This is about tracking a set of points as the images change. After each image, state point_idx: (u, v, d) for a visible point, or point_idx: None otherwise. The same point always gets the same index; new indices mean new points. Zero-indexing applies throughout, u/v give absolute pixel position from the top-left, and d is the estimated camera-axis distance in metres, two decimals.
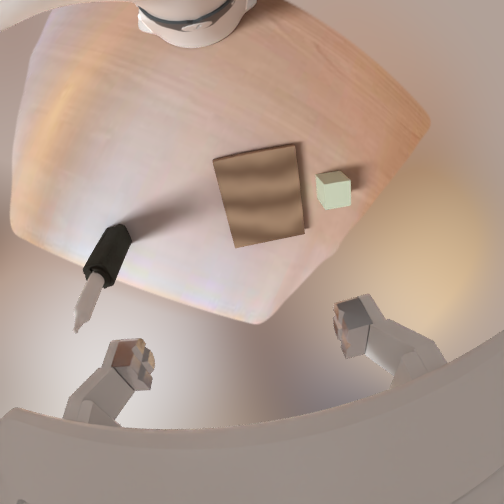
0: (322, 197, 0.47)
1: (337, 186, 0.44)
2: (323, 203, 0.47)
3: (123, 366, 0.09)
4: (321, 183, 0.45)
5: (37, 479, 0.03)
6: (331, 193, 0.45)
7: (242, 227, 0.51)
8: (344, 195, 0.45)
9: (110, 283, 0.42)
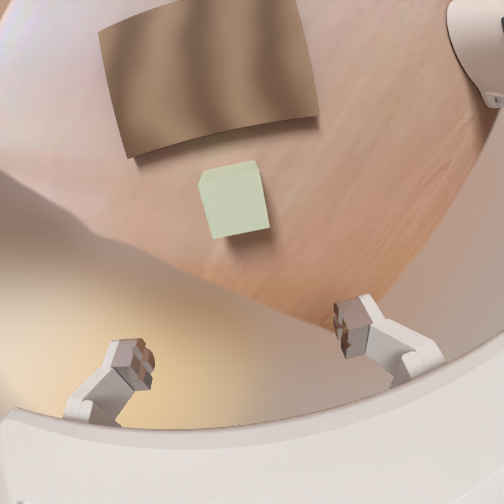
0: (220, 175, 0.22)
1: (254, 200, 0.22)
2: (208, 179, 0.22)
3: (123, 366, 0.09)
4: (252, 168, 0.22)
5: (37, 479, 0.03)
6: (239, 192, 0.21)
7: (143, 32, 0.16)
8: (234, 220, 0.23)
9: None
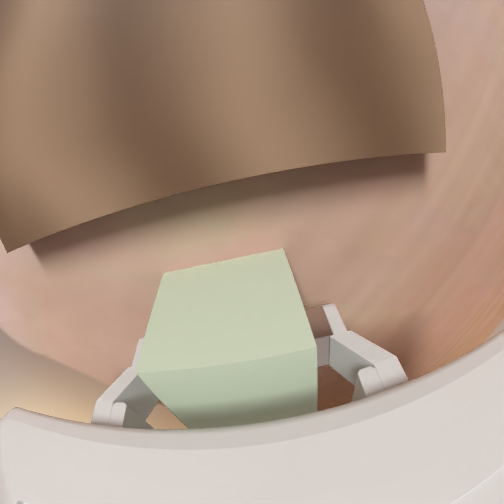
0: (198, 331, 0.08)
1: (291, 395, 0.08)
2: (165, 343, 0.07)
3: None
4: (289, 311, 0.08)
5: (37, 479, 0.03)
6: (252, 386, 0.07)
7: None
8: (240, 419, 0.08)
9: None
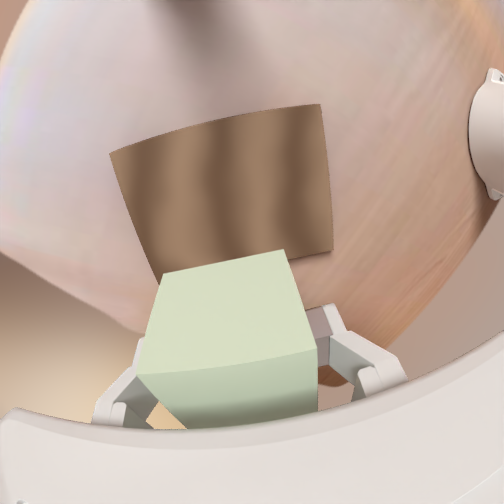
0: (198, 332, 0.08)
1: (292, 396, 0.08)
2: (165, 344, 0.07)
3: None
4: (289, 312, 0.08)
5: (37, 479, 0.03)
6: (252, 388, 0.07)
7: (161, 163, 0.21)
8: (240, 420, 0.08)
9: None
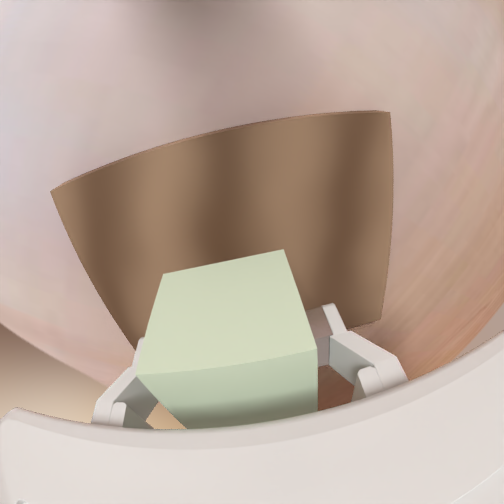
0: (198, 333, 0.08)
1: (292, 396, 0.08)
2: (164, 344, 0.07)
3: None
4: (289, 312, 0.08)
5: (37, 479, 0.03)
6: (252, 388, 0.07)
7: (125, 208, 0.12)
8: (240, 421, 0.08)
9: None
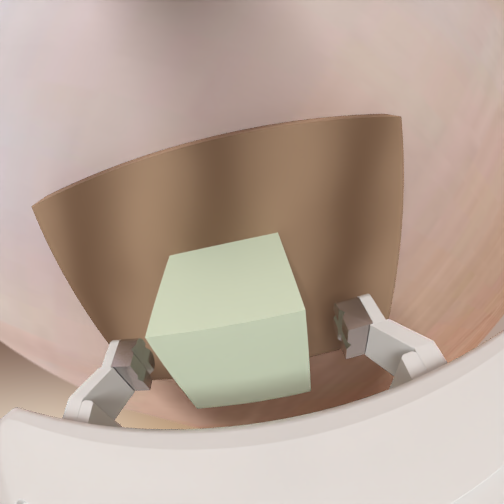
0: (202, 301, 0.09)
1: (285, 361, 0.09)
2: (172, 311, 0.09)
3: (123, 366, 0.09)
4: (282, 282, 0.09)
5: (37, 479, 0.03)
6: (249, 351, 0.08)
7: (110, 224, 0.11)
8: (239, 388, 0.10)
9: None
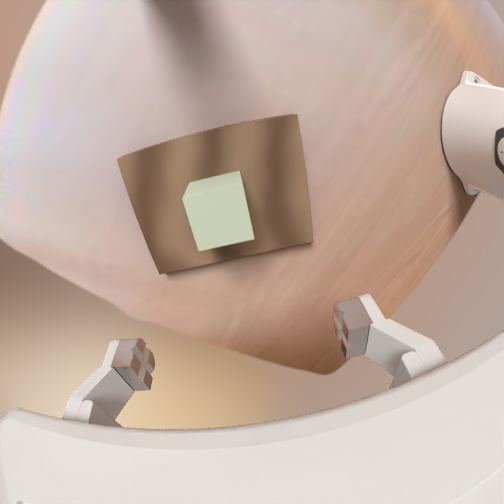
0: (205, 188, 0.22)
1: (238, 213, 0.22)
2: (193, 192, 0.22)
3: (123, 366, 0.09)
4: (236, 180, 0.22)
5: (37, 479, 0.03)
6: (223, 205, 0.22)
7: (161, 167, 0.24)
8: (219, 232, 0.23)
9: None
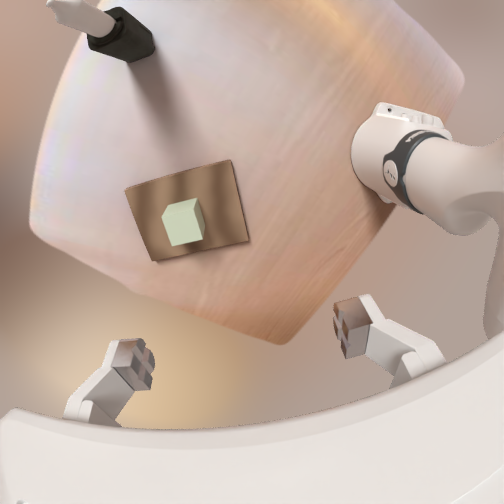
0: (174, 210, 0.39)
1: (192, 224, 0.39)
2: (167, 213, 0.39)
3: (123, 366, 0.09)
4: (191, 206, 0.39)
5: (37, 479, 0.03)
6: (183, 220, 0.38)
7: (151, 196, 0.41)
8: (182, 235, 0.40)
9: (93, 45, 0.19)
